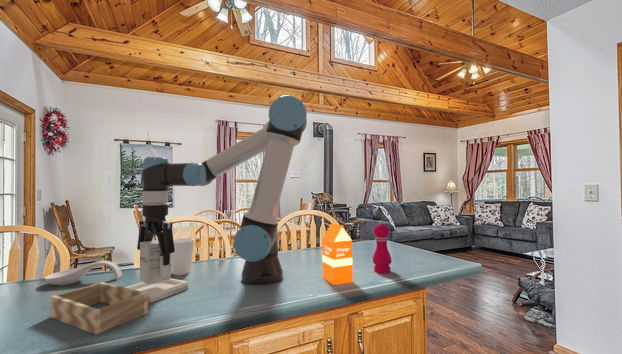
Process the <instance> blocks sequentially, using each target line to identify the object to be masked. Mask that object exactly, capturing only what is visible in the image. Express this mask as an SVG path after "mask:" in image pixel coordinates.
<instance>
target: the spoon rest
mask: <svg viewBox="0 0 622 354" xmlns="http://www.w3.org/2000/svg"><path fill="white" fill-rule="evenodd" d="M98 266H106V267H108V268H110V269H111V270H112V271H113V274H114V280H115V281H116V280H120V278H122V277H123V271H122V269H121V267H120V266H119V265H118V264H117V263H115V262H113V261H110V260H103V259H102V260H97V261H95V262H92V263H90V264H87V265H84V266H80V267H76V268H69V269H66V270H65V269H64V270H61V271H57V272H54V273H50V274H49V275H46V276H44V281H46V282H47V283H49V284H50V285H53V286H67V285H72V284H76V283H78V282H79V281H80V280H82V278H83V277H85V275H86V274H88V273H89V272H90V271H91V270H92V269H93V268H96V267H98Z"/></svg>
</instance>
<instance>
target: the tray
mask: <svg viewBox="0 0 622 354" xmlns="http://www.w3.org/2000/svg"><path fill="white" fill-rule="evenodd" d="M125 288H129V289H133V290H137V291H141V292H145V293H148V305H149V304H153V303H154V302H157V301H160V300H162V299H165V298H168V297H170V296H173V295H176V294H178V293H181V292H183V291H186V290H188V289H189V281H187V280H182V279H177V278H172V277H171V280H168V281H164V282H160V283H155V284H151V285H147V284H146V283H144V282H143V281H141V282H138V283H135V284H131V285H129V286H126V287H125Z"/></svg>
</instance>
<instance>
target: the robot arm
mask: <svg viewBox="0 0 622 354" xmlns="http://www.w3.org/2000/svg"><path fill="white" fill-rule="evenodd" d="M307 115H308V114H307V108H306V107H305V105H304V103H303V102H302V100H301V99H299V98H297V97H296V96H294V95H281V96H278V97H277V98H275V100H274V99H273V101H272V103H271V104H270V106H269V110H268V119H269V120H268V122H266V123H265V127H263V128H260V129H259V130H257V131H255V132H253V133H252V134H250V135H248V136H247V137H245V138H242V140H240V141H239V140H238V141H237V142H236V143H234V144H233V145H231V146H229V147H227V148H226V149H225V148H224V149H223V150H222V151H220V152H219V153H217V154H215V155H213V156H211V157H209V158H208V159H206V160H204V161H203V162H200V163H198V162H187V163H186V162H185V163H184V162H182V163H181V162H180V163H177V162H176V163H170V162H169V159H168V158H166V157H163V156H147V157H145V158H144V159H143V160H142V170H141V171H142V199H141V201H142V204H143V205H142V217H145V219H144V220H139V222H138V223H139V224H138V227H139V230H138V239H137V245H136V249H137V250H138V251H140V242H147V241H153V240H154V236H156V238H157V239H156V240H158V242H159V246H160V249H161V253H162V254H160V276H164V275H168V274H169V263H170V254H171V253H174V252H175V249H174V241H173V239H174V234H173V222H172V221H169V222H168V221H167V219H166V216H168V214H169V205H168V204H167V203H168V202H169V187H174V186H175V187H177V186H178V187H196V186H198V187H204V186H205V187H206V186H207V185H210V184H211V183H212V182H213V181H214V180H215V179H218V178H219V177H220V176H222V175H224V174H226V173H228V172H229V171H231V170H233V169H234V168H237V167H239V166H240V165H242V164H243V163H246V162H247V161H249V160H250V159H253V158H254V157H256V156H258V155H259V154H261V153H263V152H265V153H264V156H263V159H262V163H261V166H260V167H261V168H260V170H259V174H258V177H257V178H258V179H257V182H256V185H255V189H254V193H253V196H252V201H251V205H250V207H249V210H248V211H247V212H244V213H243V216H242V220H241V223H240V226H239V229H238V230H237V232H236V233H235V235H234V238H233V248H234V251H235V253H236V254H237V256H238V257H240V258H241V259H242V260H244V261H245V262H244V264H243V268H242V271H241V281H242V282H244V283H245V284H249V285H267V284H272V283H276V282H279V281H281V280H282V279H283V278H284V275H283V274H284V273H283V271H284V270H283V268H282V264H281V262H280V259H279V254H278V250H279V247H278V246H279V243H278V242H279V240H278V233H279V232H278V226H279V221H278V218H277V217H276V214H277V211H278V207H279V204H280V200H281V196H282V192H283V188H284V185H285V182H286V177H287V174H288V169H289V166H290V163H291V159H292V154H293V152H294V148H295V147H296V146H297V145H299V144H300V143H301V139H302V135H303V133H304V131H305V129H306V128H307V122H308V118H307Z"/></svg>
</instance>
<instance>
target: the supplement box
mask: <svg viewBox="0 0 622 354" xmlns="http://www.w3.org/2000/svg"><path fill="white" fill-rule="evenodd" d="M160 254H162V253H161V249H160V246H159V242H158V239H153V240H152V241H147V242H140V250H139V281H141V282H144V283H146V284H147V285H151V284H155V283H160V282H164V281H168V280H171V278H172V277H171V276H172V275H171V274H172V264H171V254H170V263H169V274H168V275H164V276H160Z"/></svg>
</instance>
